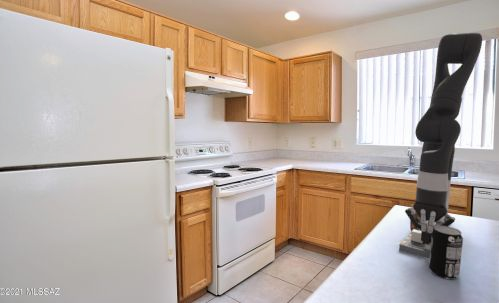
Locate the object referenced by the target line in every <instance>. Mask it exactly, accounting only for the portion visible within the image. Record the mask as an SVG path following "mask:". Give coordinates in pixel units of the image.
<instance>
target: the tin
mask: <svg viewBox="0 0 499 303" xmlns="http://www.w3.org/2000/svg"><path fill="white" fill-rule="evenodd" d="M415 216H416V217H417V218H418V220H419V221H420V223H421V218H420V217H419V216H418V214H417V213H416V211H415ZM409 220H410V219H409ZM409 224H410V231H411V232H410V233H412V230H413V229H415V230H419V231H421V229H419V228H416V227H415V226H414V224H413V223H412V221H411V220H410V221H409ZM428 227H429V221H428ZM427 230H428V229H427Z"/></svg>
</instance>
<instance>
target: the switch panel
mask: <svg viewBox="0 0 499 303" xmlns="http://www.w3.org/2000/svg"><path fill="white" fill-rule="evenodd" d="M411 235H412V232H409V233H408V234H407V235H406V237H404V239H402V241H400V243H399V244H398V251H400V252H405V253H408V254H411V255H415V256H416V257H417V256H418V257H421V258H425V259H427V260H430V249H431V243H430V244H429V245H427V244H424V243H423V242H422V243H419V242H416V241H412V240H411Z"/></svg>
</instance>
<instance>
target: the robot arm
mask: <svg viewBox="0 0 499 303" xmlns="http://www.w3.org/2000/svg"><path fill="white" fill-rule="evenodd" d="M438 42H439V43H438V47H437V56H436V63H435V64H436V65H435V76H434V83H433V89H432V93H431V97H430V103H429V104H430V105H429V107H428V109H427V110H426V112H425V113H424V114H423V116H422V117H421V118H420V120H419V121H418V122H417V124H416V127H415V132H414V133H415V137H416V139H417V140H418V141H420V142H422V146H421V147H422V149H421V155H420V158H419V168H418V169H419V171H418V176H417V180H416V192H415V194H416V195H415V201H414V203H413V205H412V206H411V207H408V208H406V209H405V210H404V212H405V214H406V216H407V217H408V219H409V220H411V221H412V223H413V224H414V226H415V227H416V228H419V229H421V231H422V233H421V241H423V243H424V244H427V245H429V244H430V243H431V238H432V231H433V230H434V227H435V226H436V224H437V223H441V224H439V226H448V227H451V225H452V224H454V223H455V221H456V218H455V216H451V215H450V214H449V204H450V192H451V183H452V182H451V181H452V174H453V172H452V171H453V166H454V165H453V162H454V159H455V158H454V157H455V151H456V143H457V141H458V138H459V136H460V134H461V131H462V130H461V129H462V128H461V124H460V123H459V121H458V120H457V119H458V116H459V114H460V110H461V107H462V104H463V103H462V102H463V94H464V91H465V88H466V85H467V84H468V81H469V79H470V78H471V76H472V73H473V71H474V68H475V66H476V64H477V61H478V60H479V56H480V53H481V50H482V45H483V36H482V34H480V32H461V33H457V32H456V33H446V34H444V35H443V36H441V38H440V40H439V41H438ZM451 64H452V65H455V64H457V65H460V66H459V67H458V68H457V69H456V70H455V71H454V72H453V73H451V74H450V70H449V65H451ZM415 211H416V213H417V214H418V216H419V217H420V218H421V223H420V221H419V220H418V218H417V217H416V216H415ZM428 221H429V227H428ZM427 229H428V230H427Z"/></svg>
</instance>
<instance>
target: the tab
mask: <svg viewBox="0 0 499 303" xmlns="http://www.w3.org/2000/svg"><path fill="white" fill-rule="evenodd" d="M411 233H412V235H411V240H412V241H416V242H419V243H422V242H423V241H421V233H422V231H419V230H415V229H413V230H412V232H411Z"/></svg>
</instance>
